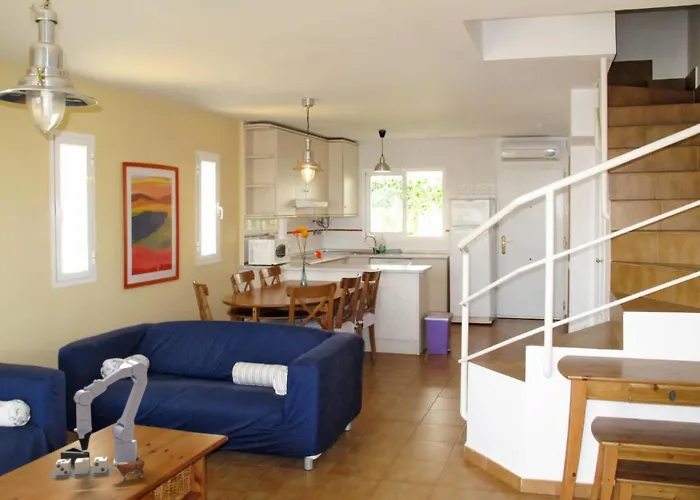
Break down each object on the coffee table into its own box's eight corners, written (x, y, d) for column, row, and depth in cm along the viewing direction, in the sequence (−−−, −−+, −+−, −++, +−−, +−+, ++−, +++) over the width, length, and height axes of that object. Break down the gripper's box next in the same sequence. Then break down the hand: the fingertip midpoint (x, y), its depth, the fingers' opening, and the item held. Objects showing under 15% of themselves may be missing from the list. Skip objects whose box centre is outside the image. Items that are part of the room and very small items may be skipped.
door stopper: (60, 465, 314) (80, 470, 309) (60, 452, 313) (80, 456, 308) (76, 459, 322) (96, 463, 317) (76, 446, 322) (96, 450, 316)
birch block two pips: (108, 468, 309) (107, 456, 309) (106, 472, 304) (105, 460, 304) (95, 468, 308) (95, 457, 308) (93, 473, 303) (93, 461, 303)
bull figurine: (110, 480, 297) (110, 460, 296) (144, 475, 302) (143, 456, 302) (111, 484, 293) (111, 464, 292) (145, 478, 298) (145, 459, 298)
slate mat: (114, 466, 313) (114, 465, 313) (109, 476, 301) (109, 475, 301) (55, 470, 309) (55, 468, 309) (49, 480, 297) (48, 478, 297)
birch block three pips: (71, 470, 306) (70, 458, 306) (68, 474, 301) (68, 462, 301) (58, 471, 306) (58, 459, 305) (55, 475, 301) (55, 463, 300)
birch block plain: (89, 469, 308) (89, 457, 308) (87, 473, 303) (87, 461, 303) (77, 470, 307) (77, 458, 307) (74, 474, 302) (74, 462, 302)
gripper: (77, 414, 314) (78, 445, 315) (70, 424, 300) (71, 456, 301) (94, 413, 315) (95, 443, 316) (88, 423, 301) (89, 455, 302)
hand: (84, 449), depth 308 cm, fingers closed
